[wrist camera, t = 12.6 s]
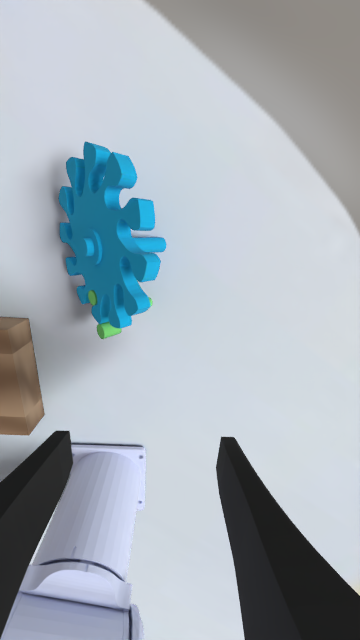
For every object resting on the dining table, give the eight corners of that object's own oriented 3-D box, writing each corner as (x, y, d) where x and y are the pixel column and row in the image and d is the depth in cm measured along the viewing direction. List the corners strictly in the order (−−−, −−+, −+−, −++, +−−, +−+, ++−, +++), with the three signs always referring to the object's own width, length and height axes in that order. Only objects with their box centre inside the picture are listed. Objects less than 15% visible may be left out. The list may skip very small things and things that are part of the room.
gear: (39, 141, 13) (140, 129, 8) (125, 163, 17) (234, 165, 12) (59, 309, 19) (130, 377, 13) (122, 296, 23) (198, 344, 17)
